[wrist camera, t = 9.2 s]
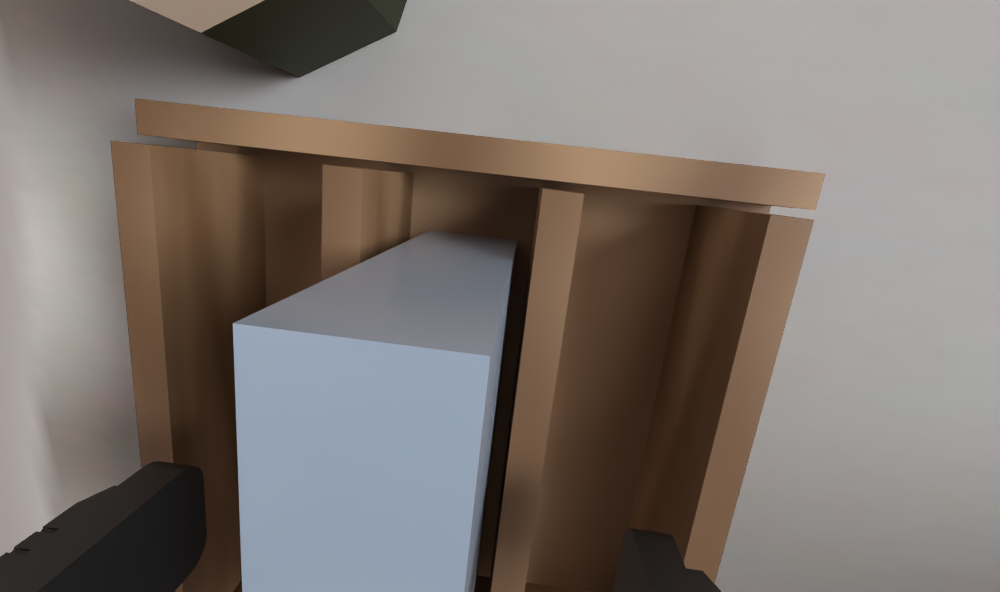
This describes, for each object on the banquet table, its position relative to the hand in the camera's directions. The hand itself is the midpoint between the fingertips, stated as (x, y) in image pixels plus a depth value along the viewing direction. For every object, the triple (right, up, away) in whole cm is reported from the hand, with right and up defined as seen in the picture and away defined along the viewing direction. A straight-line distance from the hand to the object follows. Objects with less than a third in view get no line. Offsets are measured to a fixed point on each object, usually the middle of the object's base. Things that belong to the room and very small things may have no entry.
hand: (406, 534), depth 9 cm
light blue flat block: (0, +1, +6) cm, 6 cm away
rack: (0, +2, +7) cm, 7 cm away
